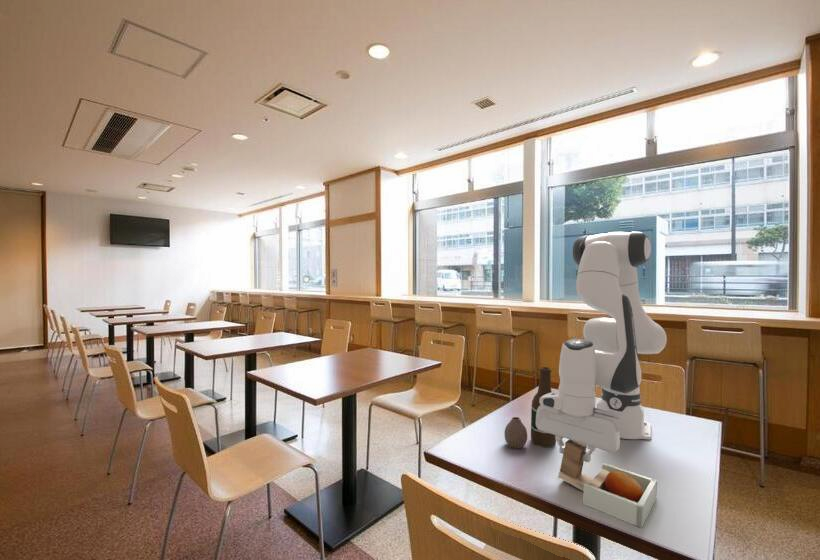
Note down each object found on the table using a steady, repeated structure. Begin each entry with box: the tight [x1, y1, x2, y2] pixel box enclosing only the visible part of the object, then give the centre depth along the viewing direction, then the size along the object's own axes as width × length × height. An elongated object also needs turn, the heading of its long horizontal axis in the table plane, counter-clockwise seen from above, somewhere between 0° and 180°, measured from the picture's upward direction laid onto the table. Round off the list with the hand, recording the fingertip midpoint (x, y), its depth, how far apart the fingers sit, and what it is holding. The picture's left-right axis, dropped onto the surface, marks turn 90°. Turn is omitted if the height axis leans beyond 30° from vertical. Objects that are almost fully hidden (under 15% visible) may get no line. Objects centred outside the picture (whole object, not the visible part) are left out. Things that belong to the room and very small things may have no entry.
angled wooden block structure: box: [557, 439, 610, 491], centre depth 96 cm, size 10×10×10 cm
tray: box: [582, 462, 658, 528], centre depth 91 cm, size 15×12×4 cm
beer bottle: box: [530, 366, 557, 448], centre depth 122 cm, size 8×8×24 cm
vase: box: [504, 416, 528, 449], centre depth 119 cm, size 7×7×9 cm
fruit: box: [604, 471, 643, 503], centre depth 91 cm, size 8×8×8 cm
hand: (574, 456), depth 98 cm, fingers open, 4 cm apart
